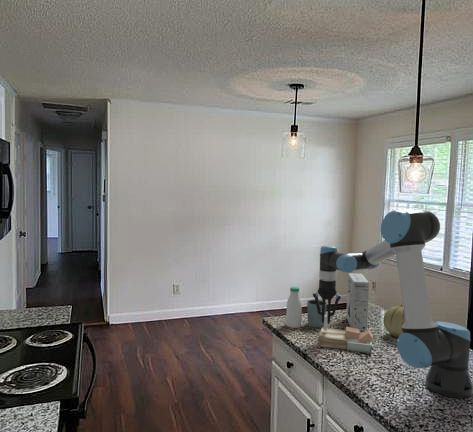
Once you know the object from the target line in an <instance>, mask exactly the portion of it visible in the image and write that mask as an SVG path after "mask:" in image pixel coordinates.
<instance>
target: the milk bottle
mask: <svg viewBox="0 0 473 432" xmlns="http://www.w3.org/2000/svg"><path fill="white" fill-rule="evenodd" d="M289 293H290V294H289V297H288V299H287V301H286V312H285V313H286V317H285V325H286V327H288V328H292V329H298V328H301V327H302V312H303V310H302V309H303V308H302V306H303V305H302V300H301V297H300V287H297V286H291V287H290V288H289Z"/></svg>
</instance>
